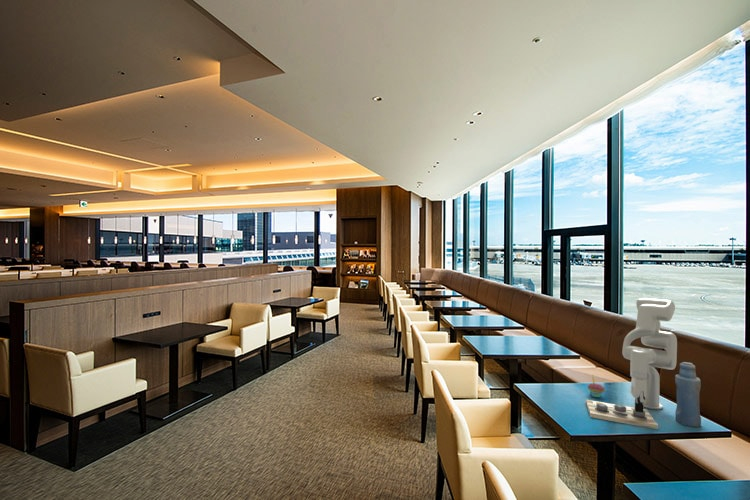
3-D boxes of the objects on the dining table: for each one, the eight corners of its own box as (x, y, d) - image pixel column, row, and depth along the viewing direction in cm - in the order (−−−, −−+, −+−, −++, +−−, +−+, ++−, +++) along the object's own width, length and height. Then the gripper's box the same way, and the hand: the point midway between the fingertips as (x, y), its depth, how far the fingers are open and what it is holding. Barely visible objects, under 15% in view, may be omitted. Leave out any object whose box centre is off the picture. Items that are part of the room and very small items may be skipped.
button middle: (613, 407, 187) (613, 403, 187) (625, 409, 185) (625, 405, 185) (615, 411, 183) (615, 407, 183) (627, 413, 181) (627, 409, 181)
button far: (595, 406, 191) (595, 402, 191) (606, 408, 189) (606, 404, 189) (597, 410, 186) (597, 406, 186) (608, 412, 184) (608, 408, 184)
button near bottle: (631, 412, 184) (632, 408, 184) (643, 414, 182) (643, 410, 182) (634, 416, 179) (634, 412, 180) (646, 418, 177) (646, 414, 177)
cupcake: (587, 396, 212) (587, 375, 212) (588, 392, 219) (588, 372, 219) (604, 399, 207) (604, 379, 208) (604, 395, 214) (605, 375, 215)
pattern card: (592, 401, 199) (592, 400, 199) (640, 409, 190) (640, 408, 190) (593, 404, 195) (593, 404, 195) (642, 413, 185) (642, 412, 185)
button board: (585, 403, 202) (585, 399, 202) (646, 413, 190) (646, 409, 190) (590, 417, 183) (590, 412, 184) (657, 429, 172) (657, 424, 172)
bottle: (703, 429, 173) (704, 367, 174) (677, 424, 178) (677, 363, 179) (697, 421, 181) (698, 362, 182) (672, 417, 186) (673, 359, 187)
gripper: (627, 369, 189) (626, 404, 189) (634, 377, 176) (633, 415, 175) (644, 372, 186) (644, 407, 186) (652, 380, 173) (652, 418, 172)
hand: (639, 411), depth 180 cm, fingers closed
